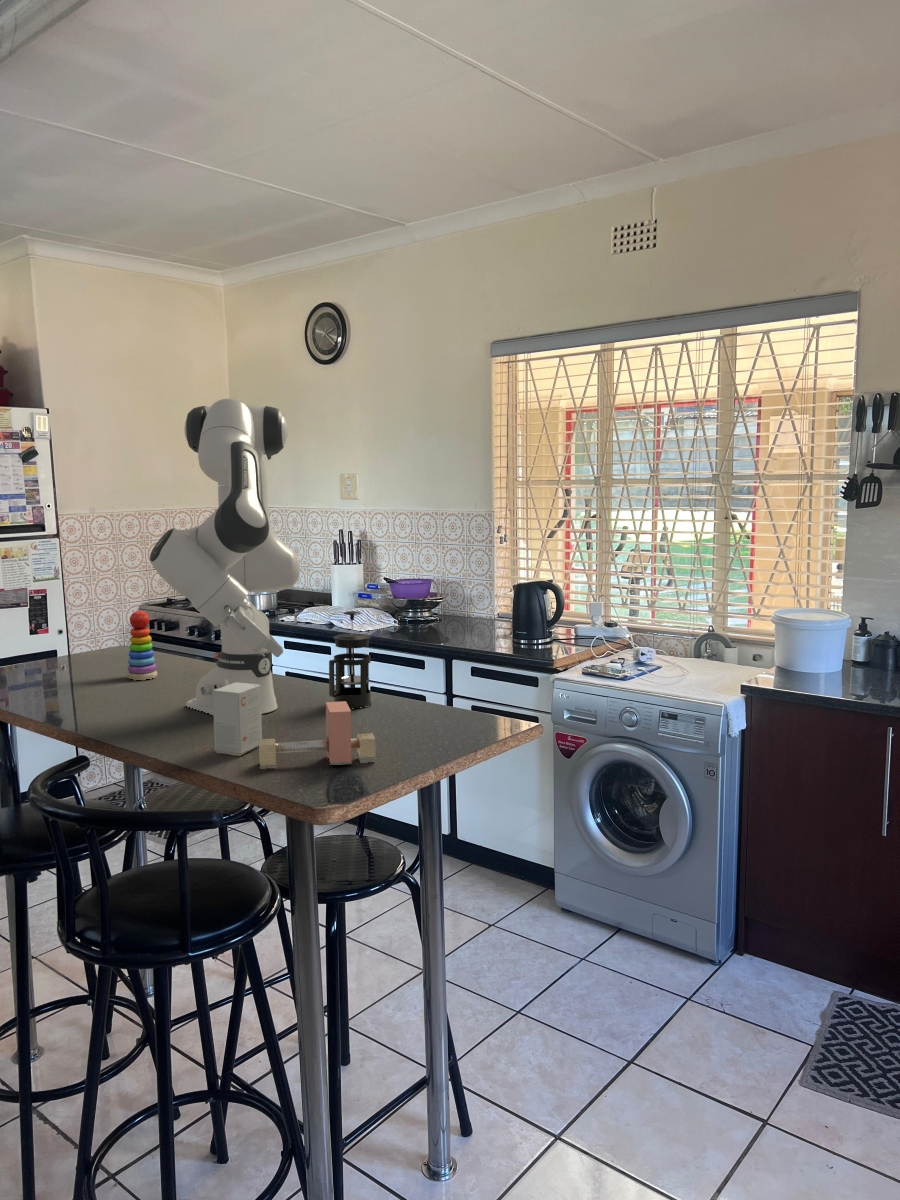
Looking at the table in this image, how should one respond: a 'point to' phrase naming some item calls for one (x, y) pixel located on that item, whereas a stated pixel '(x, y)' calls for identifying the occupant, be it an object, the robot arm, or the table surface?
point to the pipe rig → (312, 747)
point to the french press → (352, 695)
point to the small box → (237, 717)
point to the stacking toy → (141, 649)
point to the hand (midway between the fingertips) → (280, 653)
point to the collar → (338, 731)
